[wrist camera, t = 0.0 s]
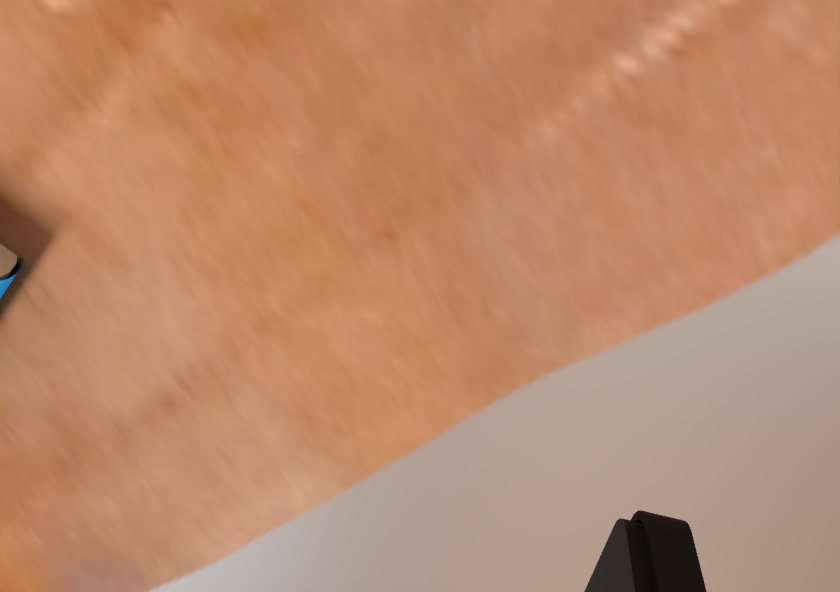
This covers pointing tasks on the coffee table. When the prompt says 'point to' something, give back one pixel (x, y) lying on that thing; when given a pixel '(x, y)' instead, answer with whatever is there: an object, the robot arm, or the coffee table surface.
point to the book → (7, 268)
